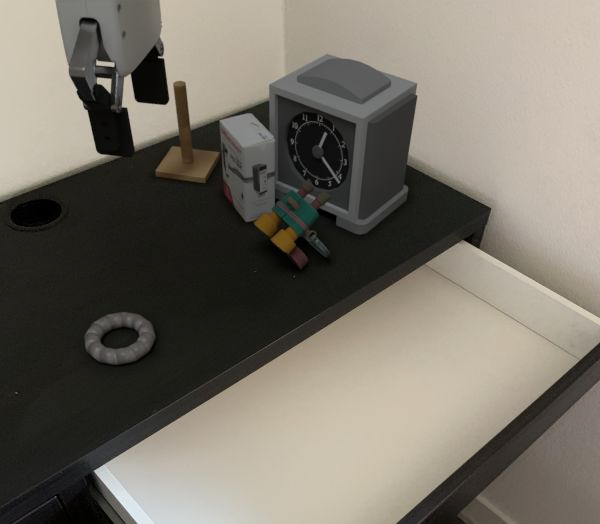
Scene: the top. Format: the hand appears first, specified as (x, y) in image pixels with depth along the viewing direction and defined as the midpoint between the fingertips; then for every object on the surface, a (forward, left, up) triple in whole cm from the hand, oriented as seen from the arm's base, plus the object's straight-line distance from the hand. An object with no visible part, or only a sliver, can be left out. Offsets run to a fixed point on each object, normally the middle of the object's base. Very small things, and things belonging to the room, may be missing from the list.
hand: (135, 126), depth 59 cm
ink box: (+1, +30, -27) cm, 40 cm away
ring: (-6, -2, -25) cm, 26 cm away
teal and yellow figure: (+10, +19, -27) cm, 34 cm away
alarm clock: (+13, +36, -26) cm, 47 cm away
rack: (-11, +38, -26) cm, 48 cm away
